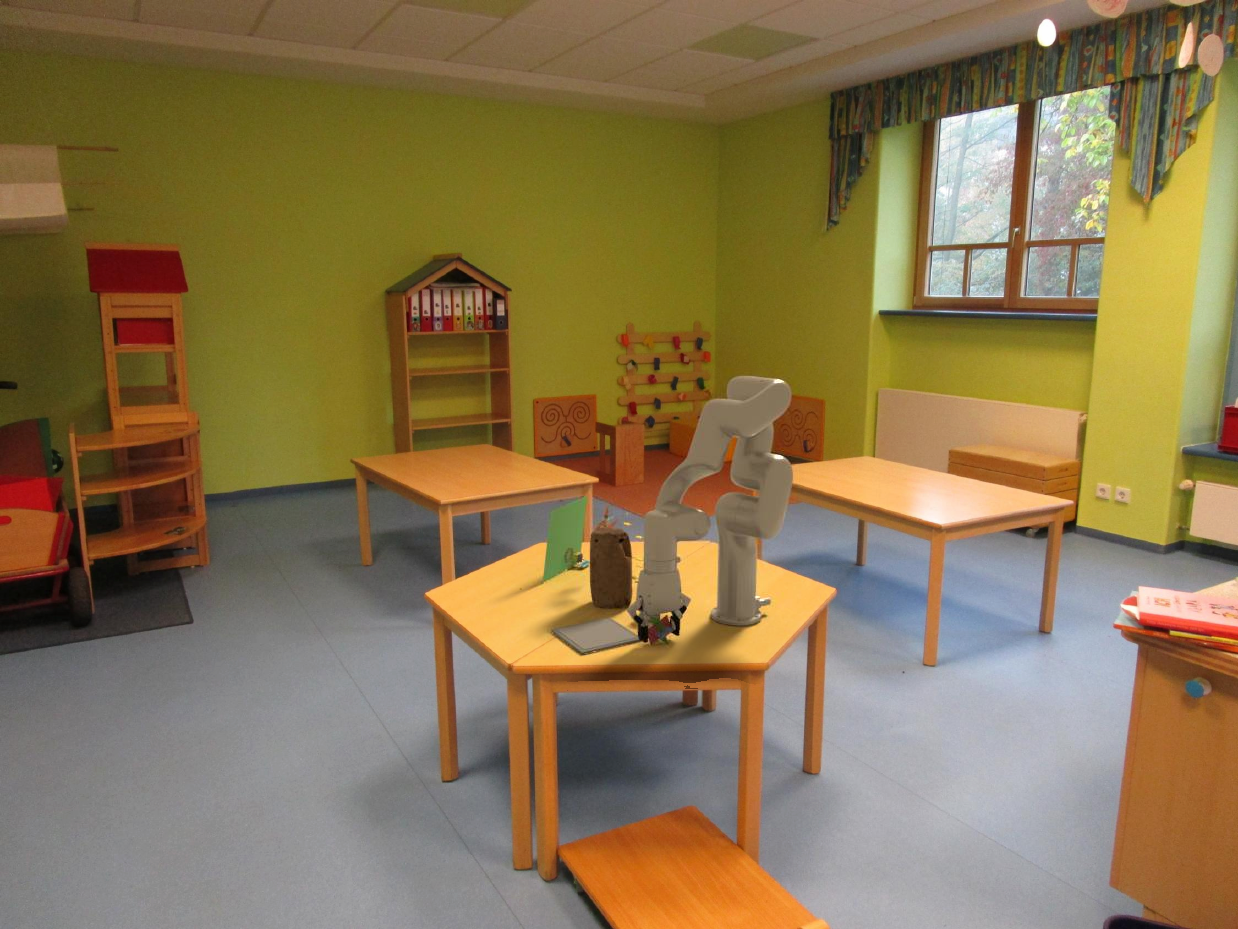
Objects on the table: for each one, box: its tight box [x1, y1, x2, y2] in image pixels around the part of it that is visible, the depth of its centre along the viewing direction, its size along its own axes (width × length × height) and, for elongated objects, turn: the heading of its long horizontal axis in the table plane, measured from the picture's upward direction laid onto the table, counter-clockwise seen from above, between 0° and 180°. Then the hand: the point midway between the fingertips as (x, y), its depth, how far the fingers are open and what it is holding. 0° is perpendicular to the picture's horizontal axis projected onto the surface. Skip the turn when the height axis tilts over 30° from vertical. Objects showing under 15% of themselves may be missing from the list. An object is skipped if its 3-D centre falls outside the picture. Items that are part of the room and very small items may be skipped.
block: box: [589, 527, 633, 609], centre depth 227 cm, size 11×8×20 cm
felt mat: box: [550, 616, 642, 655], centre depth 208 cm, size 16×16×1 cm
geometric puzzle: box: [646, 614, 676, 646], centre depth 203 cm, size 7×7×8 cm
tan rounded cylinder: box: [642, 614, 661, 624], centre depth 218 cm, size 5×5×5 cm
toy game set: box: [542, 495, 644, 584], centre depth 247 cm, size 22×25×24 cm
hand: (659, 637), depth 203 cm, fingers closed on geometric puzzle, 8 cm apart
